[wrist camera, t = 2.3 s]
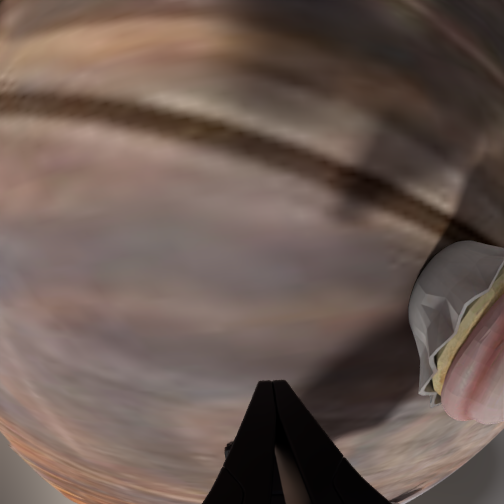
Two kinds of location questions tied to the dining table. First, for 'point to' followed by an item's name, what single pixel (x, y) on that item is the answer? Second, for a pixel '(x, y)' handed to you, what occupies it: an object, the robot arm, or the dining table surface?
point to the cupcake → (462, 331)
